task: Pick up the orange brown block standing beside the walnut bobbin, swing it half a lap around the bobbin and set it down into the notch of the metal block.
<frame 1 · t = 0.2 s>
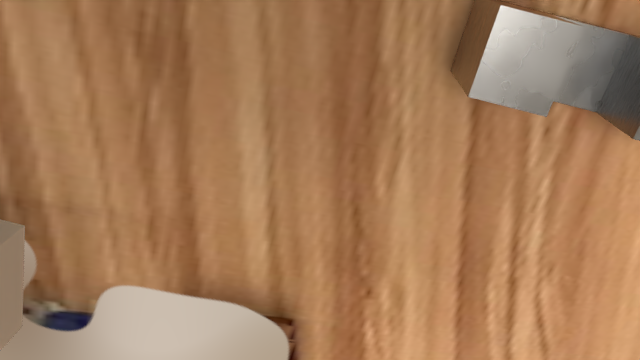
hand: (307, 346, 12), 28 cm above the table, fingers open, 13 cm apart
metal block: (566, 60, 36), on the table
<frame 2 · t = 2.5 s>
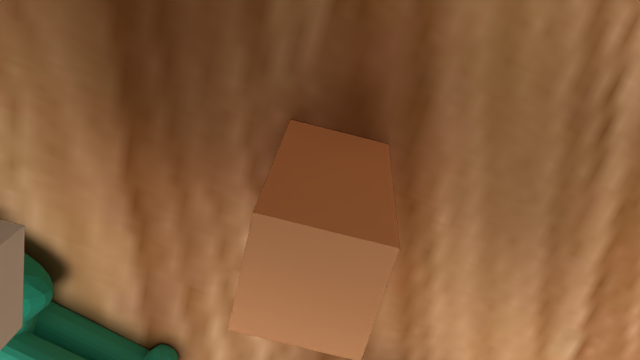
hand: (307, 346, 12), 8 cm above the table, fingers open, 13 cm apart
orange brown block: (327, 176, 20), on the table
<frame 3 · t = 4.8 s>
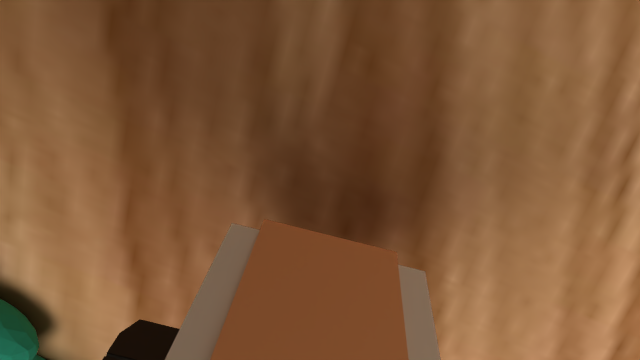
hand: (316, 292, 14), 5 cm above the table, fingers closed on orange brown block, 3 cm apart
orange brown block: (314, 291, 15), point 4 cm above the table, touching gripper
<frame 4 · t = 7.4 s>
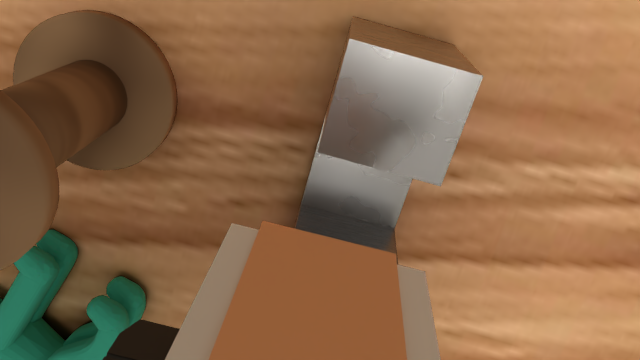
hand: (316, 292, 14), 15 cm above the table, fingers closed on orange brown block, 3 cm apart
metal block: (361, 162, 29), on the table
orange brown block: (313, 293, 15), point 15 cm above the table, touching gripper
bobbin: (100, 91, 28), on the table
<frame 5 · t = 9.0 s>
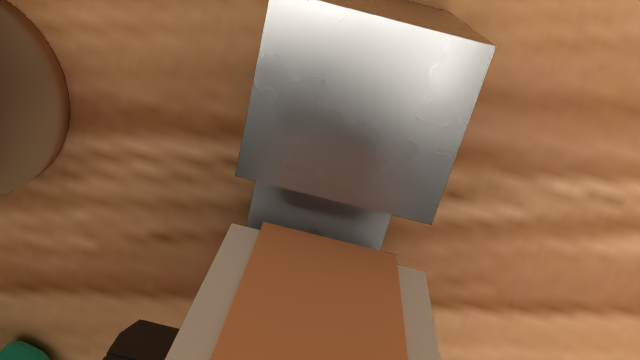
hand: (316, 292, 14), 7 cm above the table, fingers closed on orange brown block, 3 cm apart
metal block: (326, 180, 21), on the table
orange brown block: (314, 294, 15), point 7 cm above the table, touching gripper
when the fingers open (2 cm above the table, at t = 10.2 s): orange brown block stays where it is, resting on metal block.
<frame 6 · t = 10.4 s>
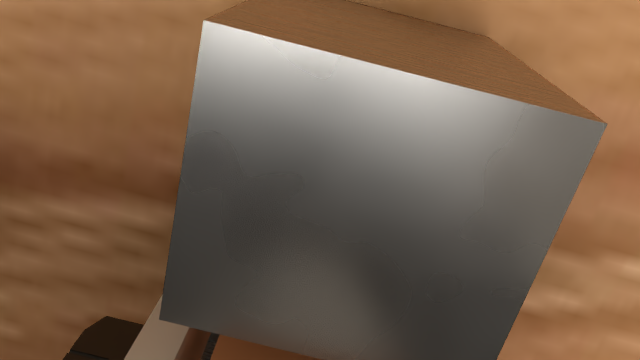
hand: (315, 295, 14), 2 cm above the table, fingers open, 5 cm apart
metal block: (318, 257, 16), on the table
orange brown block: (312, 298, 15), point 1 cm above the table, touching metal block
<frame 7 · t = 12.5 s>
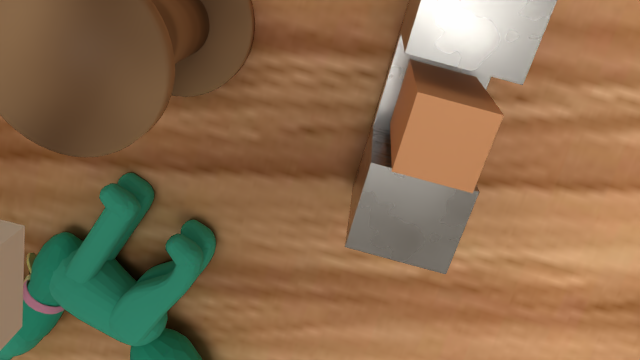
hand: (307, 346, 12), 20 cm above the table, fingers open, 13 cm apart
metal block: (430, 87, 30), on the table
orange brown block: (432, 100, 29), point 1 cm above the table, touching metal block
toy: (149, 321, 39), on the table
bobbin: (182, 20, 30), on the table
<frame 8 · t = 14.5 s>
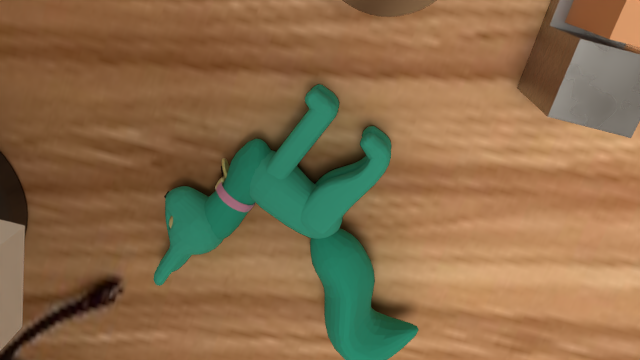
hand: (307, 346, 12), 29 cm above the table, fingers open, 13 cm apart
orange brown block: (603, 1, 34), point 1 cm above the table, touching metal block
toy: (312, 227, 44), on the table
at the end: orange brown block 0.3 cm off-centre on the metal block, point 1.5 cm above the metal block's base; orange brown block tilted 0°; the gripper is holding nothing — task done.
